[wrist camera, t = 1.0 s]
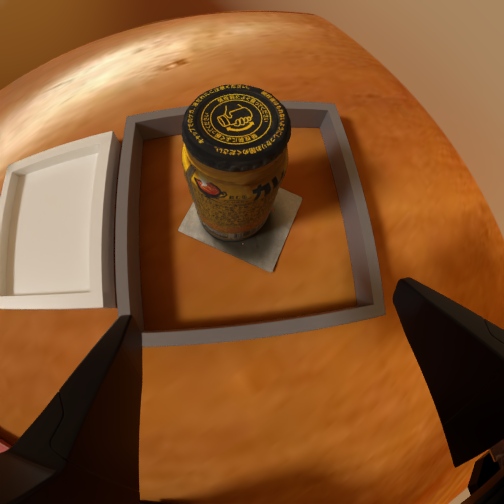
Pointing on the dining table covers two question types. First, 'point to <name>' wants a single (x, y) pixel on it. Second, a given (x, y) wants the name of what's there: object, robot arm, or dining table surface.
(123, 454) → the robot arm
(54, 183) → the tray
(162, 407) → the dining table surface
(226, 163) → the condiment
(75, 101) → the dining table surface
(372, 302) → the gray square frame
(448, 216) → the dining table surface
